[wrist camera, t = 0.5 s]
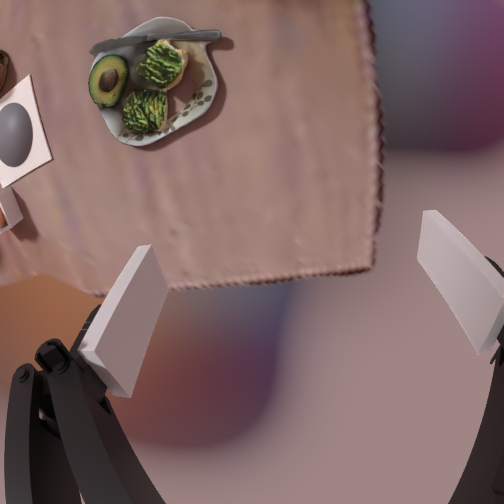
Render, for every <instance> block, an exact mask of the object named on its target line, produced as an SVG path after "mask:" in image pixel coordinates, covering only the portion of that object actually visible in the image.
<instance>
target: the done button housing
mask: <svg viewBox="0 0 504 504" xmlns="http://www.w3.org/2000/svg"><path fill="white" fill-rule="evenodd" d="M0 207H1V210H2V212H3V214H4V217H5V219H6V221H7V222H6V224H5V225H4V226H2V227H1V228H0V233H2V232H4V231H6V230H8V229H10V228H12V227H13V226H15V225H16V224H17V223H18V222H20V221H21V220H22V219H23V215H22V213H21V211H20V208H19V206H18V203H17V201H16V199H15V196H14V193H13V191H12V188H11V186H10V187H9V188H7V189H5V190H4V191H2V192H1V193H0Z"/></svg>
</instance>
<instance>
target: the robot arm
mask: <svg viewBox="0 0 504 504" xmlns="http://www.w3.org/2000/svg"><path fill="white" fill-rule="evenodd" d="M417 260H418V262H419V263H420V264H421V266H422V267H423V268H424V270H425V271H426V273H427V274H428V276H429V277H430V278H431V280H432V281H433V283H434V284H435V286H436V287H437V289H438V290H439V292H440V293H441V295H442V296H443V298H444V299H445V301H446V302H447V304H448V305H449V307H450V309H451V310H452V312H453V313H454V315H455V317H456V318H457V320H458V322H459V323H460V325H461V327H462V328H463V330H464V332H465V333H466V335H467V337H468V339H469V340H470V342H471V344H472V346H473V347H474V349H475V351H476V353H477V354H481V353H483V352H486V351H488V350H491V348H492V346H493V345H494V343H495V341H496V339H497V340H498V341H499V343H500V346H499V348H498V349H497V351H496V353H495V354H494V356H493V358H492V359H491V362H490V364H492V363H493V361H494V360H495V359H496V361H495V367H494V373H493V378H492V383H491V387H490V392H489V396H488V400H487V404H486V408H485V412H484V416H483V419H482V423H481V425H480V429H479V432H478V435H477V438H476V441H475V444H474V447H473V449H472V452H471V454H470V457H469V460H468V462H467V465H466V467H465V469H464V472H463V474H462V476H461V479H460V481H459V483H458V485H457V487H456V489H455V492H454V493H453V496H452V497H451V499H450V501H449V503H448V504H504V272H503V271H502V269H501V268H500V267H499V266H498V265H497V264H496V263H495V262H494V261H492V260H491V259H489V258H488V257H486V256H485V257H484V256H483V255H482V254H481V253H480V252H479V251H478V250H477V249H476V248H475V247H474V246H473V245H472V244H471V243H470V242H469V241H468V240H467V239H466V238H465V237H464V236H463V235H462V234H461V233H460V232H459V231H458V230H457V229H456V228H455V227H454V226H453V225H452V224H451V223H450V222H449V221H448V220H446V219H445V218H444V217H443V216H442V215H441V214H440V213H439V212H438V211H436V210H428V211H423V218H422V226H421V234H420V241H419V248H418V254H417ZM168 290H169V289H168V286H167V284H166V281H165V279H164V276H163V273H162V271H161V268H160V266H159V263H158V260H157V258H156V255H155V252H154V249H153V247H152V244H151V245H144V246H138V247H137V249H136V250H135V252H134V253H133V255H132V257H131V258H130V260H129V261H128V263H127V264H126V266H125V267H124V269H123V271H122V272H121V274H120V275H119V277H118V279H117V280H116V282H115V284H114V285H113V287H112V289H111V290H110V292H109V294H108V295H107V297H106V299H105V300H104V302H103V304H101V305H98V306H97V307H96V308H95V309H94V310H93V311H92V312H91V314H90V315H89V317H88V318H87V320H86V323H85V324H84V326H83V328H82V330H81V331H80V333H79V335H78V337H77V338H76V340H75V342H74V344H73V346H72V348H71V349H70V351H68V350H67V349H66V347H65V346H64V345H63V343H62V342H61V341H60V340H59V339H50V340H48V341H46V342H45V343H43V344H42V345H41V346H40V347H39V348H38V350H37V352H36V354H35V360H36V362H37V363H38V364H39V365H40V367H41V368H42V369H43V370H42V371H37V370H36V369H35V368H34V366H33V365H32V364H29V363H27V364H23V365H21V366H20V367H19V368H18V369H17V370H16V372H15V373H14V375H13V378H12V383H11V390H10V396H9V403H8V411H7V420H6V434H5V453H4V472H5V473H4V474H5V495H6V504H82V503H81V497H80V493H81V495H82V497H83V500H84V502H85V504H166V503H165V502H164V500H163V499H162V497H161V496H160V494H159V493H158V491H157V490H156V488H155V487H154V485H153V484H152V482H151V480H150V479H149V477H148V475H147V474H146V472H145V471H144V469H143V467H142V465H141V464H140V462H139V460H138V458H137V456H136V455H135V453H134V451H133V449H132V447H131V445H130V443H129V441H128V440H127V438H126V436H125V434H124V432H123V430H122V428H121V426H120V423H119V421H118V419H117V417H116V415H115V413H114V410H113V408H112V407H111V404H110V401H109V400H108V398H107V397H106V396H105V393H106V390H107V388H108V389H109V390H110V391H111V392H112V393H113V395H114V396H120V397H128V398H131V396H132V392H133V389H134V386H135V383H136V380H137V377H138V373H139V371H140V368H141V365H142V362H143V359H144V356H145V353H146V350H147V347H148V344H149V341H150V338H151V336H152V333H153V330H154V328H155V325H156V321H157V319H158V316H159V314H160V311H161V308H162V306H163V303H164V301H165V298H166V295H167V293H168ZM39 411H40V412H41V413H42V414H43V416H42V417H43V418H42V419H40V418H39ZM79 490H80V492H79Z"/></svg>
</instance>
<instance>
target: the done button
mask: <svg viewBox="0 0 504 504" xmlns="http://www.w3.org/2000/svg"><path fill="white" fill-rule="evenodd" d="M6 222H7V221H6V219H5V217H4V214H3V212H2V210H1V207H0V228H1V227H2V226H4V225H5V224H6Z"/></svg>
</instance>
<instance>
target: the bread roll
mask: <svg viewBox="0 0 504 504" xmlns="http://www.w3.org/2000/svg"><path fill="white" fill-rule="evenodd" d="M8 63H9V61H8V58H7V57H5V55H4V53H3V52H1V50H0V90H1V88H2V86H3V84H4V81H5V78H6V74H7V65H8Z"/></svg>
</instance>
